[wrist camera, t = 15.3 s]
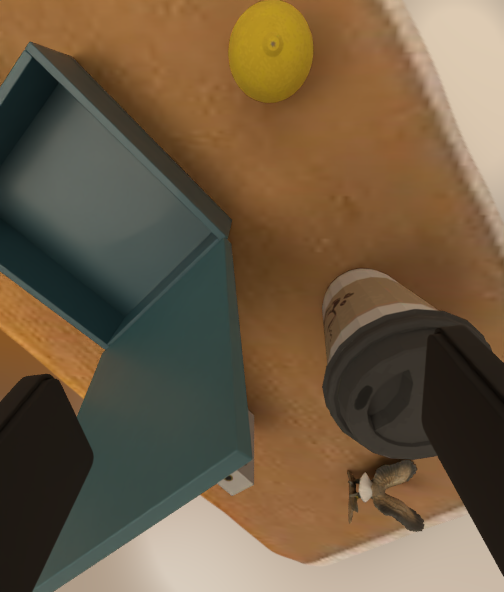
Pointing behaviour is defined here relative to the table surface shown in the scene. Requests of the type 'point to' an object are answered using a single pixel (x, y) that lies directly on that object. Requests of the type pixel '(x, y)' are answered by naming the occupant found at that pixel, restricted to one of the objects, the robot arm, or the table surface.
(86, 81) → the chest
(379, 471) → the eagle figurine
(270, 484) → the table surface
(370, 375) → the coffee cup
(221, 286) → the lid
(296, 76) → the lemon
